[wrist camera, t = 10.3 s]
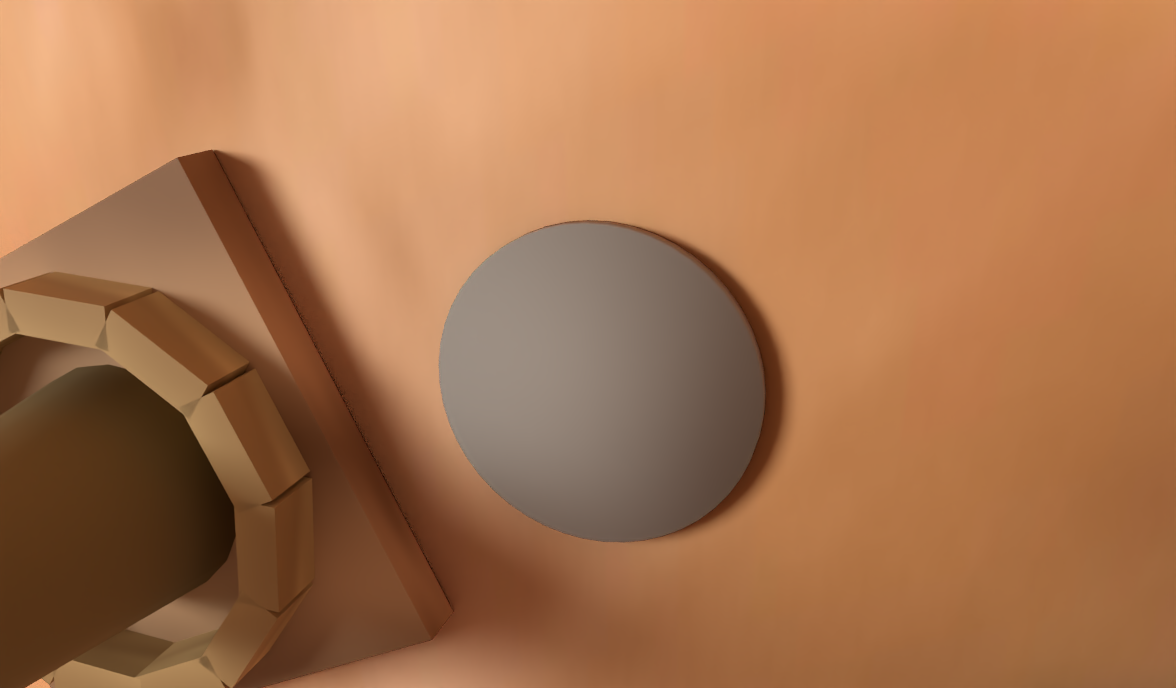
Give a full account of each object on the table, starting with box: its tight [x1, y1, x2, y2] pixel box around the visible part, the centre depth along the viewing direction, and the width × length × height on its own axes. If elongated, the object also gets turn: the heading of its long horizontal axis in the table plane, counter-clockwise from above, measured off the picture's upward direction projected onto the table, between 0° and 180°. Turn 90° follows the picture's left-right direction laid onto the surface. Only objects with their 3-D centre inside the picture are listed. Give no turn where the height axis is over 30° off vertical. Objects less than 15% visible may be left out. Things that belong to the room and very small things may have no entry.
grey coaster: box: [439, 220, 766, 542], centre depth 22 cm, size 7×7×1 cm
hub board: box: [0, 150, 453, 688], centre depth 25 cm, size 12×12×3 cm
